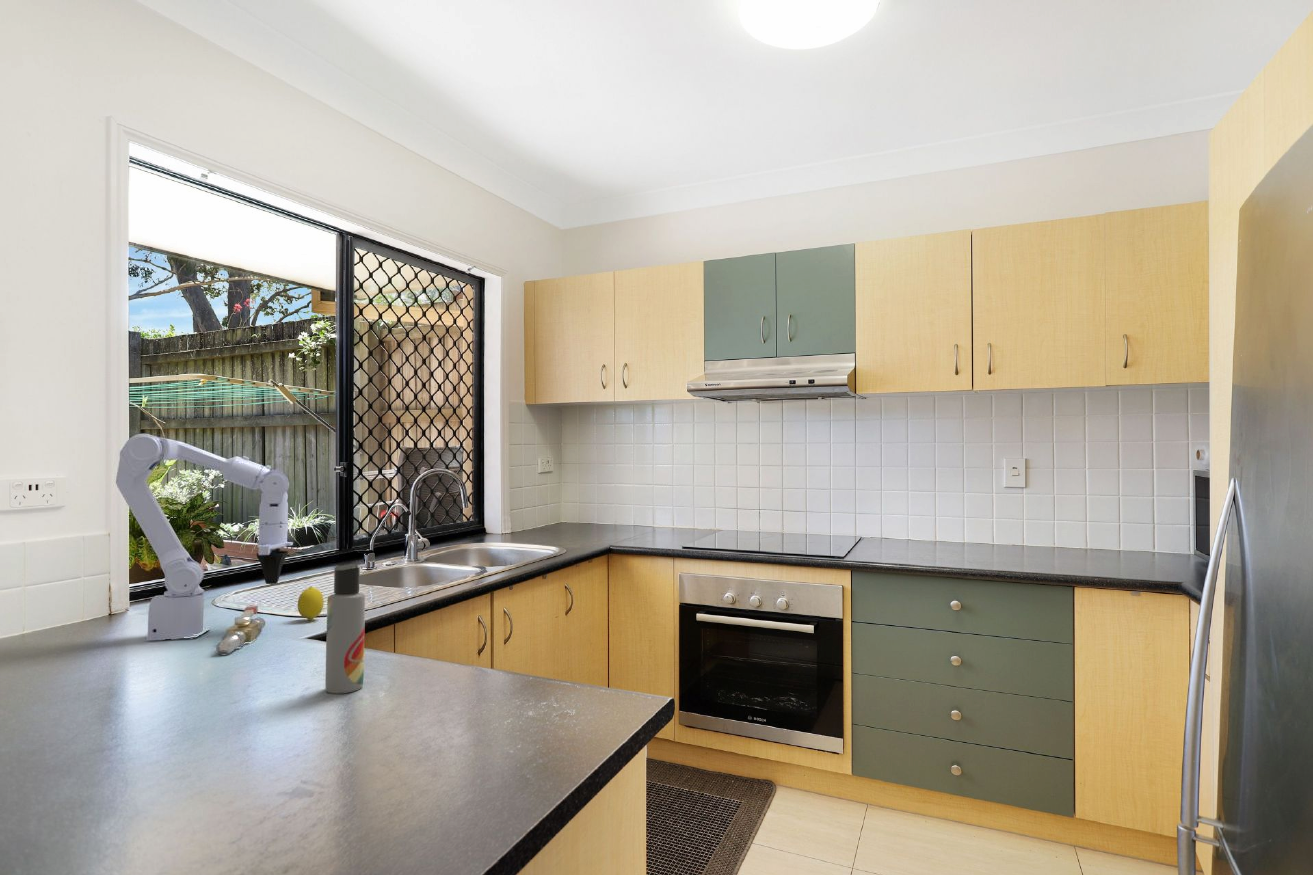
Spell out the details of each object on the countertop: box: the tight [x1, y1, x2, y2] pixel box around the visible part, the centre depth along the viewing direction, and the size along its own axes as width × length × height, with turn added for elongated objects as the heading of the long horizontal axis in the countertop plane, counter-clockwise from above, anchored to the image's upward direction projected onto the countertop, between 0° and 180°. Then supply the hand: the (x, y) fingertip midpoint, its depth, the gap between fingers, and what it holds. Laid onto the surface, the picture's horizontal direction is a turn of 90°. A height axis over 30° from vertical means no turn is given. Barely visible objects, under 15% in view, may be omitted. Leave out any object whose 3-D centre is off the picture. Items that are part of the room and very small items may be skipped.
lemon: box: [297, 586, 324, 621], centre depth 166 cm, size 6×6×8 cm
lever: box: [234, 605, 259, 625], centre depth 150 cm, size 14×3×1 cm, turn 23°
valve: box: [216, 616, 266, 655], centre depth 145 cm, size 22×4×4 cm, turn 15°
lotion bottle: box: [324, 563, 366, 695], centre depth 114 cm, size 6×6×20 cm
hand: (271, 583), depth 159 cm, fingers closed
